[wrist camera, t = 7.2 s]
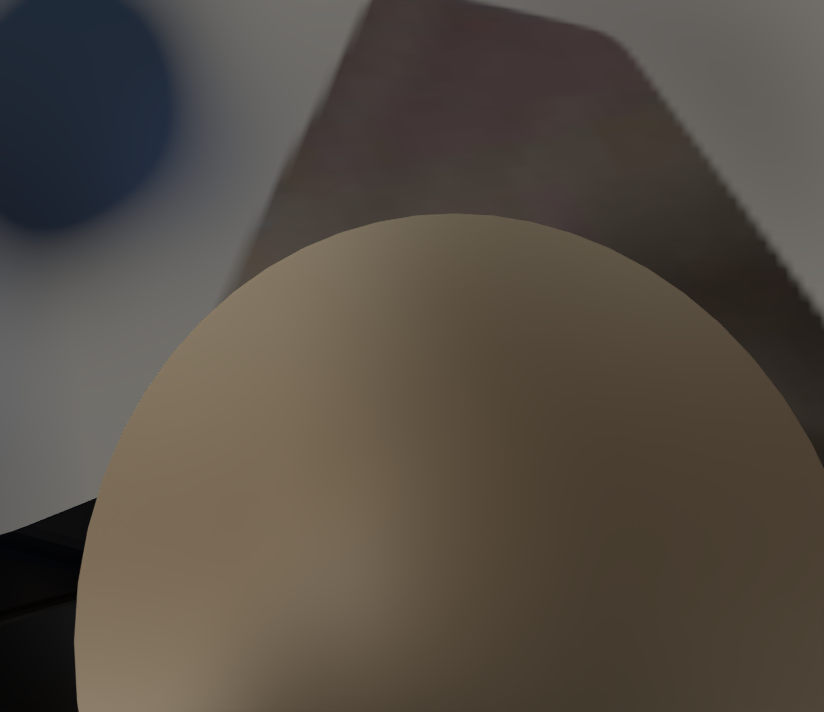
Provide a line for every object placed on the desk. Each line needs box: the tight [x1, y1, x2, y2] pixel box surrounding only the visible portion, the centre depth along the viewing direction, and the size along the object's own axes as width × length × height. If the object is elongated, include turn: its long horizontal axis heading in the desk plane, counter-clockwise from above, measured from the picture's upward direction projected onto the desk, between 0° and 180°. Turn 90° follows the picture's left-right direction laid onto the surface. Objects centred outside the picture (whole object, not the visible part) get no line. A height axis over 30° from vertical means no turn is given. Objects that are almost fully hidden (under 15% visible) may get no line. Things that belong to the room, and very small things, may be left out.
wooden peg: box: [74, 214, 824, 712], centre depth 9 cm, size 5×5×13 cm
